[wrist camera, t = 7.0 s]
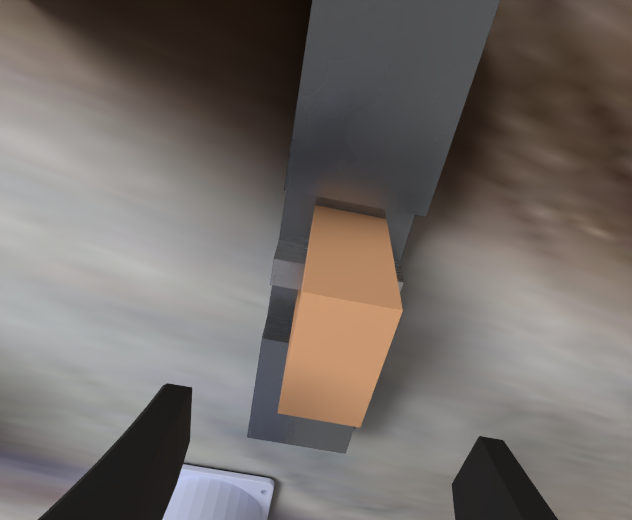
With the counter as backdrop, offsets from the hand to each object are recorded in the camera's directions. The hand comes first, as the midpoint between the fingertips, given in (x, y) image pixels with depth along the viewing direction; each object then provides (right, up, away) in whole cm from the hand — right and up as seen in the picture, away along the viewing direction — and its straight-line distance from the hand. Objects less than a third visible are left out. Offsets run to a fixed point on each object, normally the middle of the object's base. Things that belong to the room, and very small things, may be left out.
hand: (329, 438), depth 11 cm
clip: (+1, +4, +7) cm, 8 cm away
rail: (+1, +5, +8) cm, 10 cm away
